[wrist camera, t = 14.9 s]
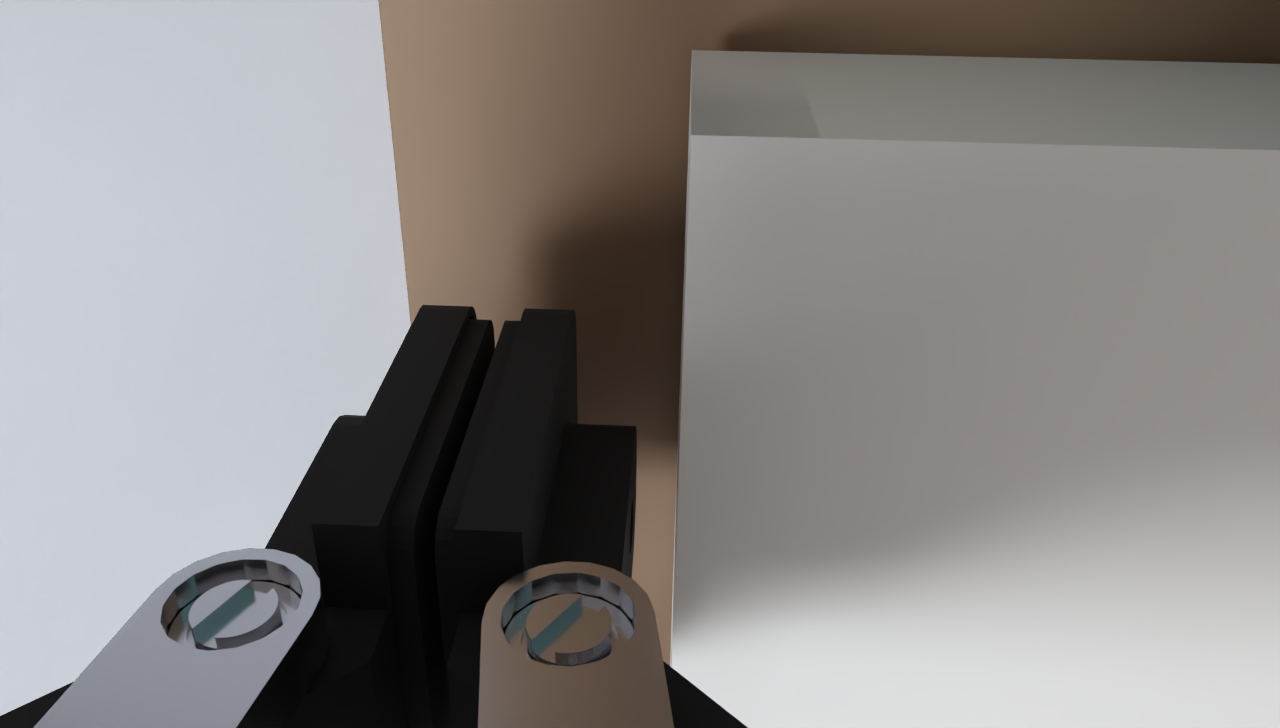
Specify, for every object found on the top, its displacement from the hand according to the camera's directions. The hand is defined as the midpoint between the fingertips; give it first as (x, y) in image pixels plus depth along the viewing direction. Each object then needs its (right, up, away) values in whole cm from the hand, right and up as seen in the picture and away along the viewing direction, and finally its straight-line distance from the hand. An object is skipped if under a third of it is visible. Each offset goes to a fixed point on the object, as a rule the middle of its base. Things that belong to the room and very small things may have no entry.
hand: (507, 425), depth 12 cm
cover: (+6, 0, 0) cm, 6 cm away
